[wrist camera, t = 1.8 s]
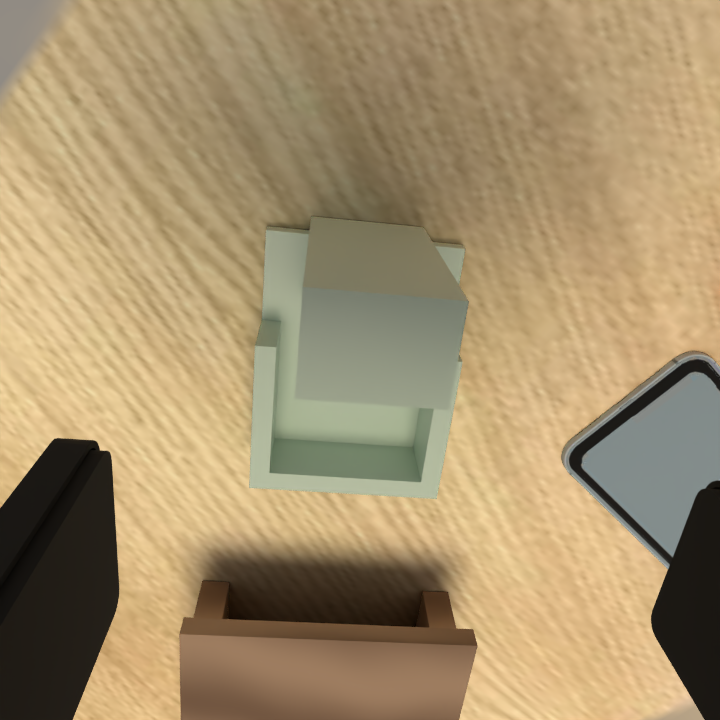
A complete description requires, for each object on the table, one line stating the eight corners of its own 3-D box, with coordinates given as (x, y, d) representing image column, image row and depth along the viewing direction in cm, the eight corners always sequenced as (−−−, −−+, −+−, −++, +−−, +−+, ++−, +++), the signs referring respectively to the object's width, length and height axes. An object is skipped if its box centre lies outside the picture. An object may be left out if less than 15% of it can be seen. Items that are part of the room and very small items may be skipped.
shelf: (202, 546, 28) (179, 634, 24) (455, 559, 29) (477, 645, 25) (202, 690, 32) (182, 788, 27) (425, 697, 33) (440, 793, 28)
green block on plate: (268, 212, 22) (238, 281, 15) (464, 231, 23) (528, 306, 15) (257, 444, 26) (230, 589, 19) (425, 454, 26) (462, 599, 19)
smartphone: (701, 342, 25) (877, 553, 29) (689, 334, 25) (861, 540, 30) (553, 459, 27) (739, 640, 31) (545, 447, 27) (728, 625, 32)
